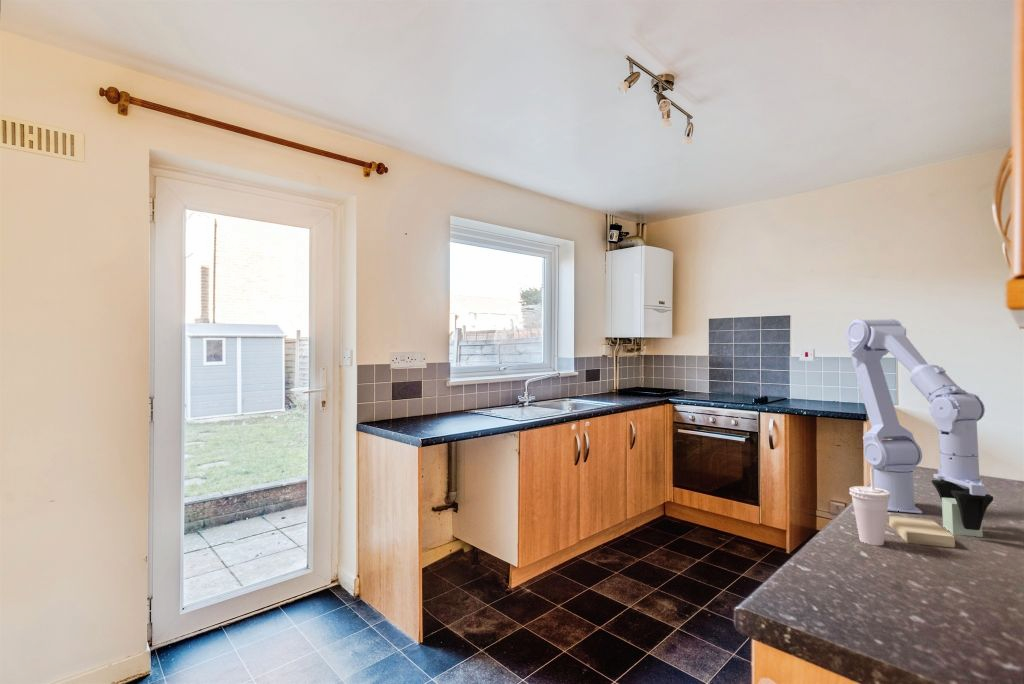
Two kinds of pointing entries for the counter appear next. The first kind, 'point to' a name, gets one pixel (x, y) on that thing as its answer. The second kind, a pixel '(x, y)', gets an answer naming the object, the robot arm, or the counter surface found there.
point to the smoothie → (870, 511)
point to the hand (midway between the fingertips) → (962, 522)
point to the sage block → (956, 519)
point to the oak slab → (921, 531)
